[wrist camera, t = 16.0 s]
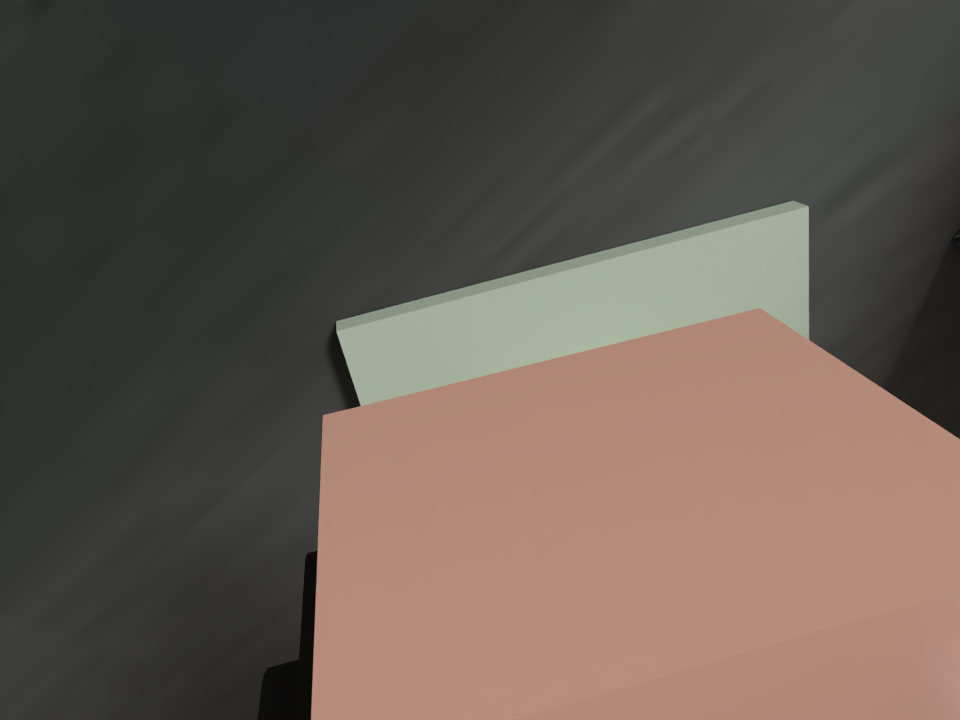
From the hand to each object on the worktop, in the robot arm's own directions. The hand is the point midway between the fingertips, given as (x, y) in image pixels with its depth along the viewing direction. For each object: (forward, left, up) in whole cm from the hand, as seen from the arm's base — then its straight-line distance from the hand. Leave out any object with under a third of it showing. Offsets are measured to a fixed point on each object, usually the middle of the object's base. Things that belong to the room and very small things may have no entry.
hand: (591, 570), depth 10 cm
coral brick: (0, 0, -1) cm, 1 cm away
